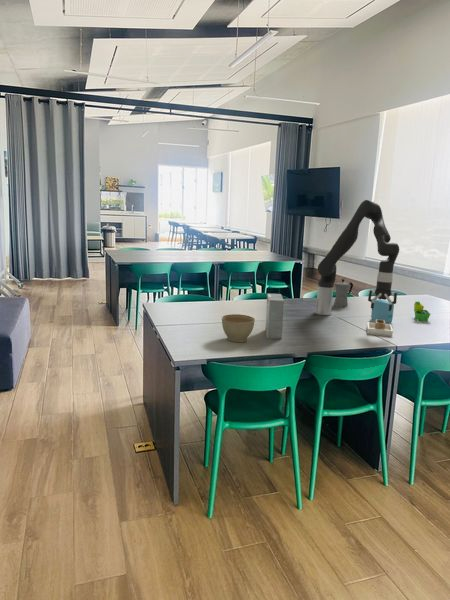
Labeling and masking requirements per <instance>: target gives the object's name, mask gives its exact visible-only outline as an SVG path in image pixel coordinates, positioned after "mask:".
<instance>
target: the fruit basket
mask: <svg viewBox="0 0 450 600" xmlns="http://www.w3.org/2000/svg"><path fill="white" fill-rule="evenodd" d="M413 306H414V307H413V311H414V318H415V319H416V320H417V322H424V323H425V322H428V320H429V319H430V316H431V313H430V312H429V310H427V309H424V307H425V306H424V305H423V304H422V303H421V302H420V301H419V300H418V301H415V302H414V303H413Z"/></svg>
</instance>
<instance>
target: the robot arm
mask: <svg viewBox="0 0 450 600" xmlns="http://www.w3.org/2000/svg"><path fill="white" fill-rule="evenodd" d="M364 218H366V219H368V220H371V222H372V223H373V228H372V229H373V230H372V231H373V235H374V237H375V240H376V243H377V244H376V246H377V254H379V255H380V256H381V257H387V258H386V259H384V260H381V261H380V262H379V266H378V272H377V273H378V274H377V278H376V285H375V290H372V289H370V290H369V291H368V297H367V301H368V302H370V309H371V311H372V310H373V308H374V301H375V300H383V301H387V302H389V303H390V304H389V311H390V310H392V305H393V304H394V305H396V304H397V299H398V298H397V297H398V293H397V292H396V291H394V292H392V285H393V278H394V277H393V274H394V273H393V272H394V265H395V264H396V263H395V262H396V260H397V258H398V255H399V253H400V246H399V244H398V243H397V242H390V241H391V236H390V232H389V231H388V229H387V227H386V224H385V221H384V216H383V210H382V207H381V206H380V204H378V203H376V202H374V201H372V200H370V199H365V200H363V201H362V202H361V203H360V205H358V207H357V209H356V211H355V213H354V214H353V216H352V218H351V219H350V220H349V222H348V224H347V226H346V227H345V229H343V231H342V232H341V234H340V235H339V236H338V238H337V239H336V240H335V243H334V244H333V245H332V247H331V249H330V250H329V252H328V253H327V254H326V255H325V256H324V258H323V259H322V260H321V261H320V262H319V264H318V265H317V273H318V274H319V275H320V279H319V281H318V284H317V294H316V295H317V296H316V297H317V298H316V301H315V302H316V304H315V314H316V315H320V316H330V315H332V307H333V294H334V287H335V285H334V284H336V276H337V262H338V261H339V260H341V258H342V257H343V256H344V255H345V254H346V253H347V252H349V251H350V250H351V248H352V247H353V246H354V244H355V243H356V241H357V240H358V236H359V229H360V226H361V225H360V224H361V223H362V221H363V219H364ZM373 294H375V296H374V298H372V295H373ZM391 295H392V297H393V300H391V298H390V296H391Z"/></svg>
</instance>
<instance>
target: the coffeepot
mask: <svg viewBox="0 0 450 600" xmlns="http://www.w3.org/2000/svg"><path fill="white" fill-rule="evenodd" d="M334 287H335V293H336V296H335V298H334V301H333V305H334V306H335V307H338V308H339V307H340V308H346V307H348V306H349V303H348V296H347V295H351V292H352V290H353V288H354V284H353V282H351V281H350V282H346V281H345V279H344V278H342V279H341V281H339V282H335V283H334Z"/></svg>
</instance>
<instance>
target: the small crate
mask: <svg viewBox="0 0 450 600" xmlns="http://www.w3.org/2000/svg"><path fill="white" fill-rule="evenodd" d="M374 323H375V329H382V330H385V324H386V323H385V320H377V319H376V320H375V322H374Z"/></svg>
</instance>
